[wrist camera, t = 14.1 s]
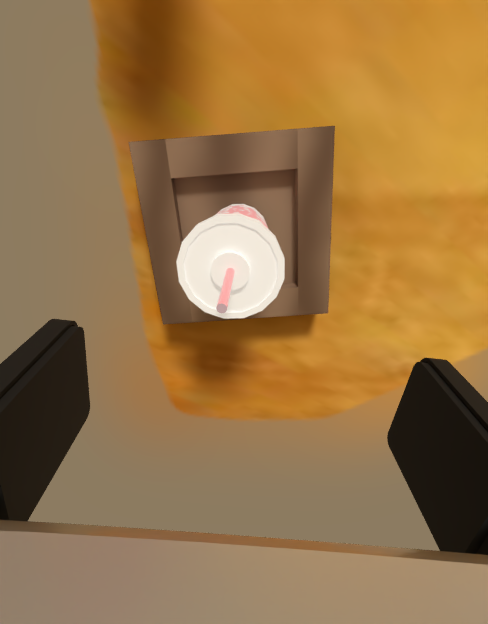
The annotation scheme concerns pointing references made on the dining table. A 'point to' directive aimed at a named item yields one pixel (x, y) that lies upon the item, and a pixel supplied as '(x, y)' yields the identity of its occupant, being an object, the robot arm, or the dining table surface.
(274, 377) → the dining table surface
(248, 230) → the beverage cup
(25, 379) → the robot arm
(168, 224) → the walnut tray
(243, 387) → the dining table surface
